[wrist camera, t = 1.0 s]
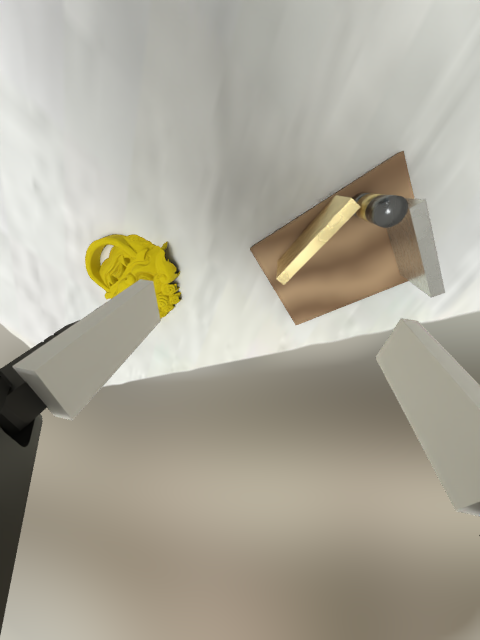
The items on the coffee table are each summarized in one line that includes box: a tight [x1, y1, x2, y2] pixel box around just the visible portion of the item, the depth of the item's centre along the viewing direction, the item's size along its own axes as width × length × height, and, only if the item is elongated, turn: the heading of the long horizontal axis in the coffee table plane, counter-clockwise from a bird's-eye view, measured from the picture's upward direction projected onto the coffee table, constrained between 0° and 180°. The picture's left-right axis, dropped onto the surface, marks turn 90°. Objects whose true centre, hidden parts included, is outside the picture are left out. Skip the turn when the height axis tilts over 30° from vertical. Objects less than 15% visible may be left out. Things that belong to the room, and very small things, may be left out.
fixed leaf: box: [352, 193, 445, 297], centre depth 22 cm, size 12×4×9 cm, turn 34°
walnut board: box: [250, 151, 414, 325], centre depth 28 cm, size 15×19×1 cm
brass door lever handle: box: [276, 193, 385, 285], centre depth 23 cm, size 12×4×7 cm, turn 144°
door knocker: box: [85, 234, 181, 319], centre depth 36 cm, size 17×16×4 cm
